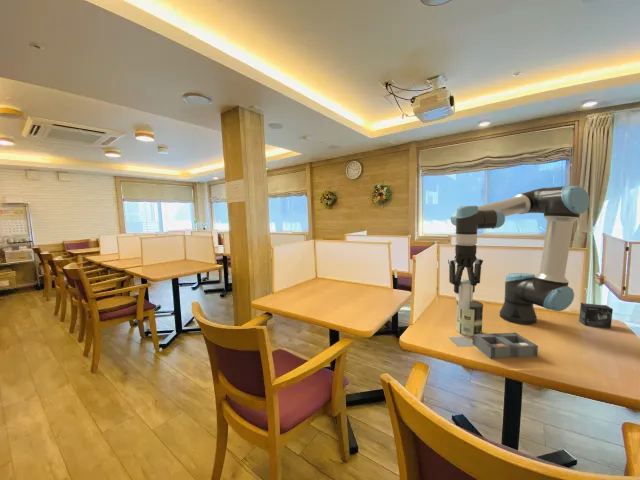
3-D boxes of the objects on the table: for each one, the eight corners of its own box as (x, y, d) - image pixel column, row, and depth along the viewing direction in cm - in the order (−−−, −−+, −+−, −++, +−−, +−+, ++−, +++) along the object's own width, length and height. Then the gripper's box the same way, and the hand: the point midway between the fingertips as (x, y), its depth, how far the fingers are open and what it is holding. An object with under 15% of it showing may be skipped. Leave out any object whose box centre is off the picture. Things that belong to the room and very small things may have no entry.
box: (584, 325, 126) (586, 306, 125) (578, 321, 131) (580, 302, 130) (611, 328, 123) (613, 308, 122) (604, 324, 128) (605, 304, 127)
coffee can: (476, 329, 125) (478, 299, 124) (485, 339, 115) (487, 307, 114) (453, 327, 127) (454, 298, 126) (459, 337, 117) (460, 306, 116)
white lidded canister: (465, 305, 114) (466, 279, 112) (472, 309, 109) (473, 281, 108) (455, 306, 114) (456, 279, 112) (461, 310, 109) (462, 282, 108)
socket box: (514, 343, 112) (515, 331, 111) (537, 357, 101) (538, 345, 100) (472, 345, 111) (473, 333, 110) (490, 359, 100) (491, 347, 99)
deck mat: (465, 337, 117) (465, 336, 117) (477, 346, 109) (477, 345, 109) (447, 338, 117) (447, 337, 117) (457, 347, 109) (458, 346, 109)
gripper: (480, 242, 113) (478, 296, 115) (440, 243, 112) (439, 298, 115) (492, 244, 105) (490, 302, 108) (449, 246, 104) (448, 304, 107)
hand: (463, 300), depth 111 cm, fingers closed on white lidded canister, 4 cm apart
